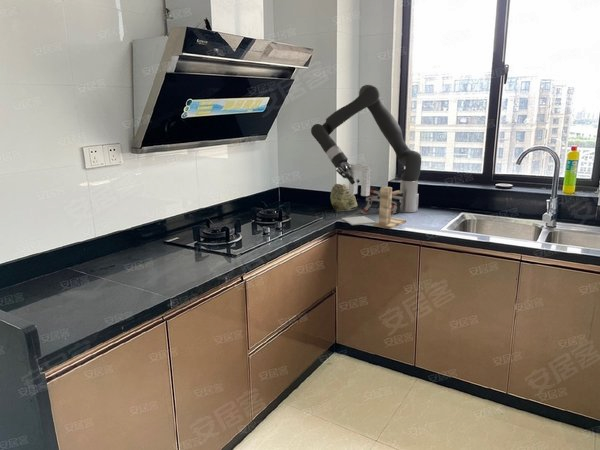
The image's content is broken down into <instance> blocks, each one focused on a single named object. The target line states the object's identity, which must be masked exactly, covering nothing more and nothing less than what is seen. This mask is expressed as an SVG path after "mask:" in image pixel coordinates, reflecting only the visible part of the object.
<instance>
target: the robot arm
mask: <svg viewBox="0 0 600 450" xmlns="http://www.w3.org/2000/svg"><path fill="white" fill-rule="evenodd" d="M380 94H381V93H380V90H379V89H378V87H376V86H374V85H371V84H364V85H363V86H361V87H360V88H359V91H358V96H357V97H356V98H355V99H353V100H352V101H351V102H349V103H348V104H346V105H344V106H343V107H341V108H339V109H337V110H336V111H334V112H333V113H331V114H330V115H329V116H328V117H326V118H325V122H324V123H323V124H320V123H315V124H313V125H312V126H311V129H310V132H311V135H312V136H313V139H315V140H316V142H317V143H318V144H319V146H320V147H321V148H322V150H323V152H324V153H325V155H326V156H327V159H329V160H330V162H331V163H332V165H333V166H334V167H335V170H336V171H335V172H337V174H338V175H340V176H341V177H342V178H343V179H346V180H348V182H349V181H350V183H351V184H354V183H355V180H354V179H353V178H352V176H351V175H350V173H349V171H350V164H351V163H349V161H348V157H347V155H346V154H345V153H344V152H343V151H342V149H341V148H340V146H338V145H337V143H336V142H335V140H333V138H331V136H330V135H331V134H332V133H333V131H334V130H336V129H337V128H338V127H340V126H341V125H343V124H345V122H346V121H347V120H349V119H350V118H352V117H353V116H355V115H356V114H357V113H360V112H362V111H363V110H364V109H368V111H369V112H370V113H371V115H372V117H373V119H374V122H375V123H376V125H377V126H378V128H379V130H380V132H381V133H382V135H383V136H384V138H385V139H386V140H387V142H388V143H389V146H391V148H392V150H393V152H395V155H396V157H397V159H398V161H399V163H400V164H401V165H402V166H403V167H404V172H403V173H401V176H400V186H399V187H400V189H399V190H400V194H401V193H403V197H402V198H403V199H402V200H400V199H399V202H401V206H400V208H401V210H400V212H401V213H415V212H418V210H419V209H418V208H419V195H420V194H419V193H418V187H419V177H420V175H421V169H422V156H421V153H419V151H415V150H411V149H410V148H409V146H408V145H407V144H406V142H405V140H404V137H403V136H404V135H403V132H402V128H401V126H400V125H399V123H398V121H397V120H396V118H395V117H394V115H393V114H392V113H391V112H390V111H389V110H388V109H387V108H386V106H384V104H383V102H382V101H381V98H380V96H381V95H380ZM360 181H361V180H360V179H359V178H358V183H360Z"/></svg>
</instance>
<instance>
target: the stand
mask: <svg viewBox="0 0 600 450" xmlns="http://www.w3.org/2000/svg"><path fill="white" fill-rule="evenodd" d="M379 190H380V192H379V193H380V208H379V212H378V213H379V214H378V215H379V217H378V221H377V222H376V221H375V222H376V223H372V224H373V225H372V226H373V227H378V228H382V229H388V230H391V229H394V228H395V227H398V226H401V225H403V224H405V223H407V219H403V218H397V217H391V216H392V214H391V201H392V196H393V195H396V194H399V193H400V189H398V190H394V191H393V187H391V186H382V187H380V189H379Z"/></svg>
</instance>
